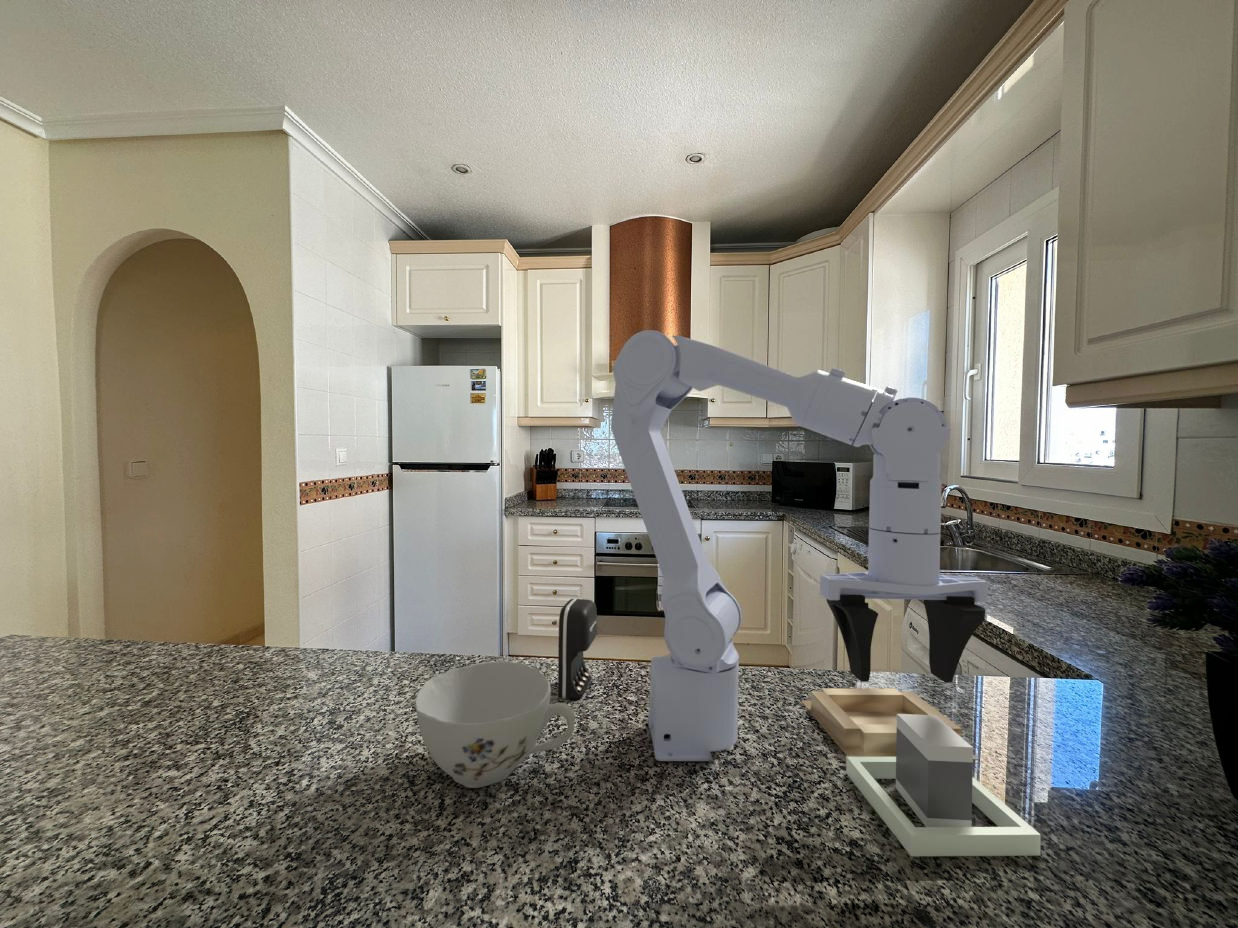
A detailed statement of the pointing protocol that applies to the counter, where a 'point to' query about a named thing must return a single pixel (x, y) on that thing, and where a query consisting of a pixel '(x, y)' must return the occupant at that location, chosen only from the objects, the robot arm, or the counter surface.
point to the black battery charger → (575, 646)
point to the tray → (945, 841)
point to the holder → (867, 718)
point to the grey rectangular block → (934, 771)
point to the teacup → (487, 719)
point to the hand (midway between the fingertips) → (900, 677)
